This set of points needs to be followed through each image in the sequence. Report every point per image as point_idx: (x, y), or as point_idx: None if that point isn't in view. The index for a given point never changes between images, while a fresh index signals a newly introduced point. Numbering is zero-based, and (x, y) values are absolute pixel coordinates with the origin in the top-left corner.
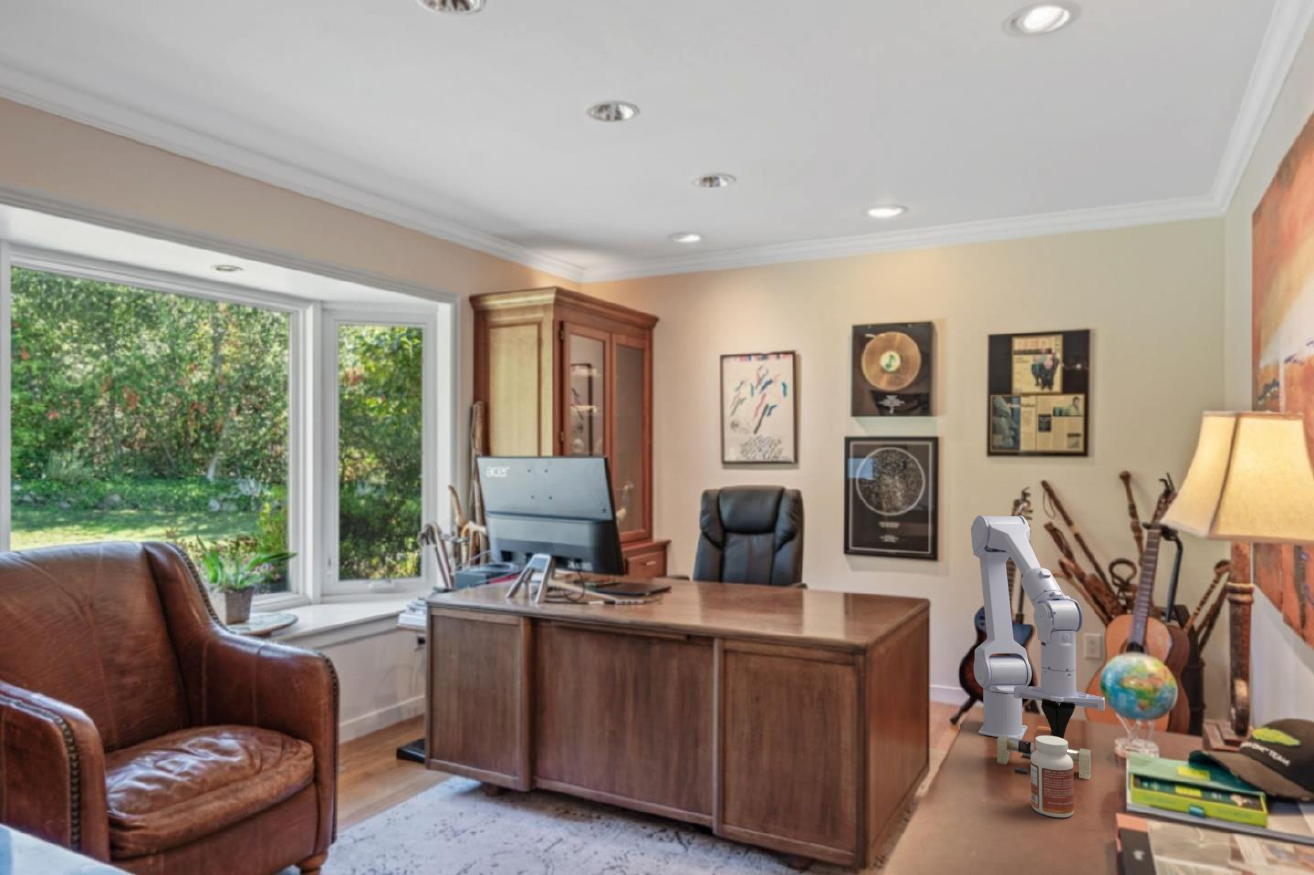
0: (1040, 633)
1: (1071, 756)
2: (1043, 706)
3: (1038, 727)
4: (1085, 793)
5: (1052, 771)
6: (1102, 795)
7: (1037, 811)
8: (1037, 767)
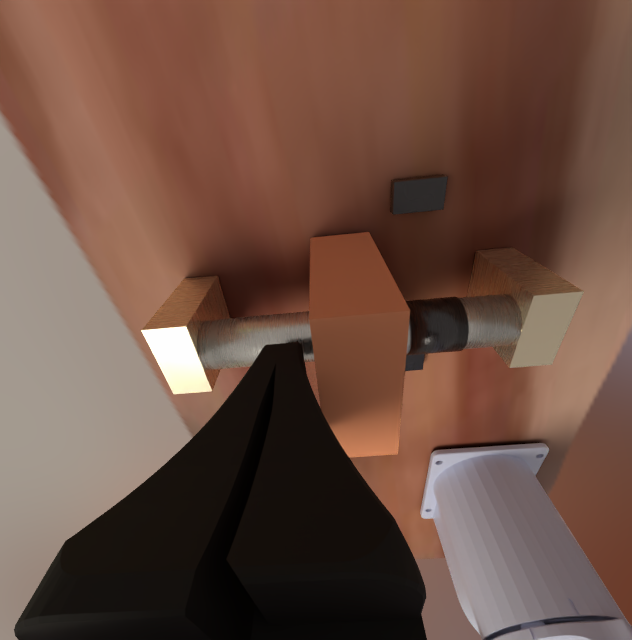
0: None
1: (230, 323)
2: (396, 592)
3: (395, 435)
4: (119, 95)
5: None
6: (60, 124)
7: None
8: None
